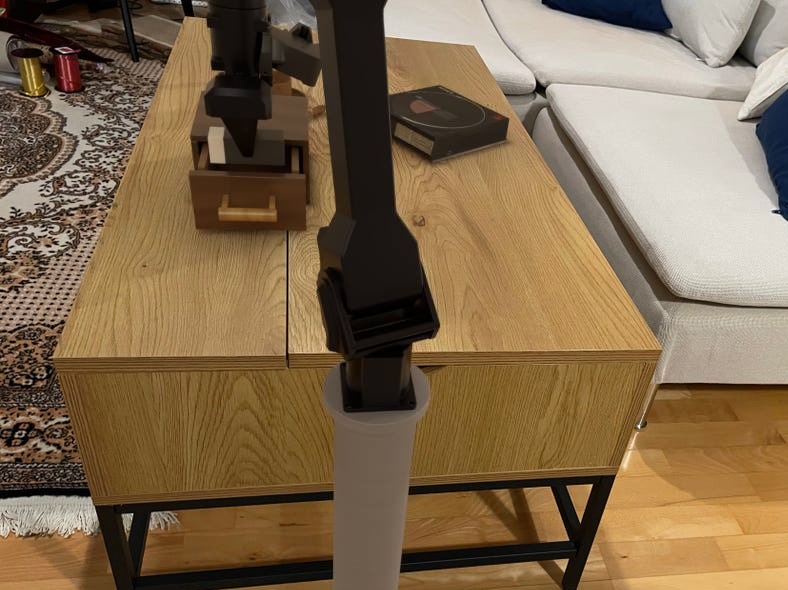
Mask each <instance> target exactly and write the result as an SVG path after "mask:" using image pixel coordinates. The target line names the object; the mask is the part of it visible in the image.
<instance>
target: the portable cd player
mask: <svg viewBox="0 0 788 590" xmlns="http://www.w3.org/2000/svg"><path fill="white" fill-rule="evenodd" d="M389 105H390V120H391V136H392V142H394V143H396V144H398V145H400V146H401V147H403V148H405V149H406V150H409V151H411V152H412V153H413V154H416V155H418V156H419V157H421V158H423V159H425V160H427V161H428V162H429V163H432V164H434V163H439V162H441V161H446V160H448V159H453V158H455V157H459V156H462V155H467V154H470V153H473V152H476V151H480V150H483V149H484V150H485V149H487V148H491V147H495V146H498V145H501V144H504V143H506V142H507V137H508V131H509V125H510V124H509V123H510V117H508V116H505V115H503V114H501V113H499V112H498V111H495V110H493V109H491V108H489V107H487V106H485V105H482V104H481V103H479V102H476V101H475V100H472V99H470V98H469V97H466V96H464V95H462V94H460V93H459V92H456V91H454V90H452V89H449V88H447V87H445V86H443V85H441V84H437V85H432V86H427V87H422V88H417V89H416V88H415V89H411V90H406V91H402V92H396V93H389Z"/></svg>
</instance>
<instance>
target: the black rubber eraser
mask: <svg viewBox="0 0 788 590" xmlns="http://www.w3.org/2000/svg"><path fill="white" fill-rule="evenodd" d="M208 144H209V153H210V162H211V163H226V164H251V165H277V166H284V165H285V151H284V131H283V130H266V129H257V131H256V138H255V145H254V153H253V157H243V156H242V154H241V153H240V151H239V149H238V147H237V145H236V144H235V142H234V140H233V138H232V137H231V135H230V133H229V131H228V130H227V128H226V127H210V129H209V134H208Z"/></svg>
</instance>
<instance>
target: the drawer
mask: <svg viewBox="0 0 788 590" xmlns="http://www.w3.org/2000/svg"><path fill="white" fill-rule="evenodd" d="M284 151H285V165H284V166H277V165H251V164H226V163H211V162H210V153H209V144H208V142H203V146H202V151H201V155H200V160H199V164H198V170H194V169H190V170H188V171H189V172H188V181H189V188H190V196H191V202H192V210H193V219H194V225H195V230H211V231H213V230H214V231H267V232H268V231H269V232H270V231H271V232H274V231H275V232H307V229H308V228H307V204H306V185H305V174H299V152H298V146H289V145H284Z"/></svg>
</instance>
